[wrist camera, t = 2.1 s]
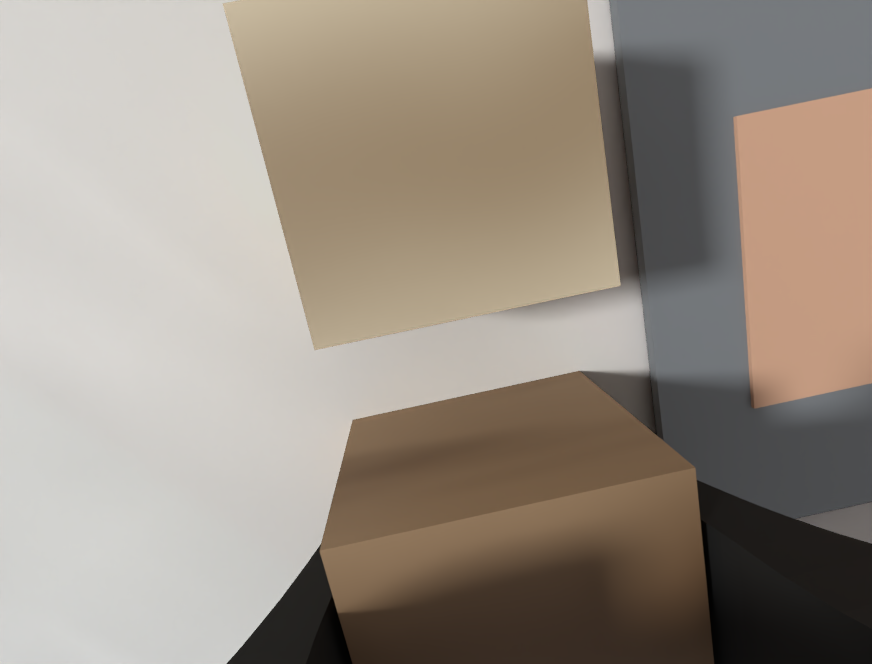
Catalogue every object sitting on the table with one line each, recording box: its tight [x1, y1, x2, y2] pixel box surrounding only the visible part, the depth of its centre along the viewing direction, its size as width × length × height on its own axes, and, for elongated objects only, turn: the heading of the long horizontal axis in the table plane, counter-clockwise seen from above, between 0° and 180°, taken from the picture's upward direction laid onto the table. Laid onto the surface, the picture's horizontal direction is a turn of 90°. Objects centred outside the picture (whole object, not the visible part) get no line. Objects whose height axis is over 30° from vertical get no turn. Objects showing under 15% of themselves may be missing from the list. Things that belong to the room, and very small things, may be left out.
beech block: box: [223, 0, 621, 350], centre depth 8 cm, size 4×4×4 cm
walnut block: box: [320, 371, 714, 664], centre depth 9 cm, size 5×5×4 cm
